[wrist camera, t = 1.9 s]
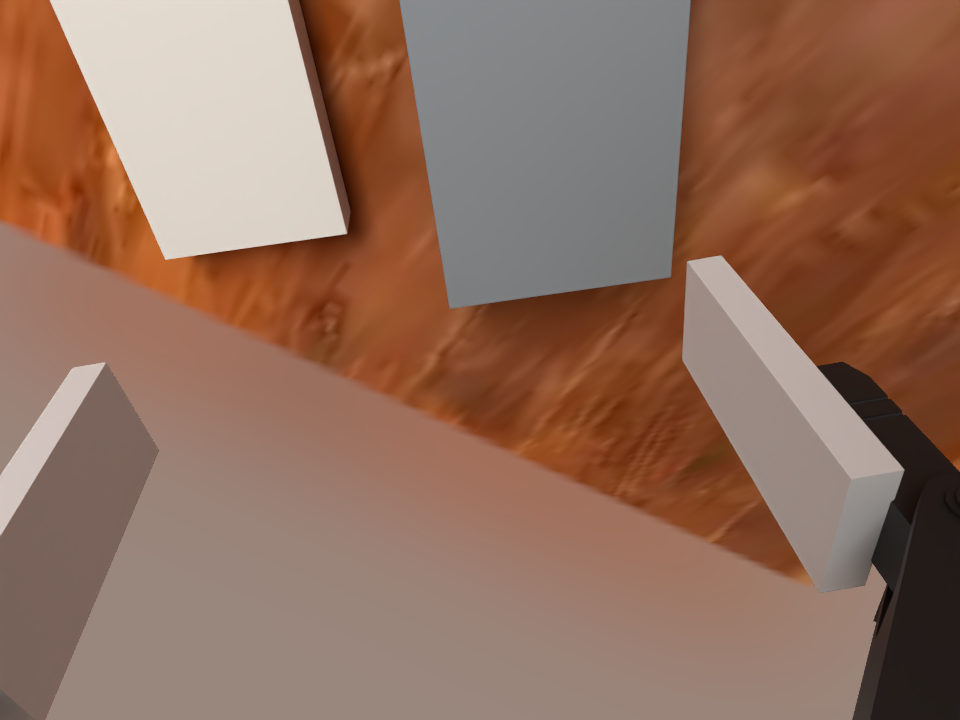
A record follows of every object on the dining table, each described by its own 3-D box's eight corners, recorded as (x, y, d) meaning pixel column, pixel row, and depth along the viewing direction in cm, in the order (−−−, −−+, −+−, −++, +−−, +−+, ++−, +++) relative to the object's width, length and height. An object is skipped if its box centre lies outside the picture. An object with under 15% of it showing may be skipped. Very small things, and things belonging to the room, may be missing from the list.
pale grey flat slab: (41, -96, 29) (8, -94, 27) (267, -128, 29) (255, -127, 27) (180, 235, 39) (165, 259, 36) (350, 211, 39) (347, 233, 36)
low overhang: (363, -250, 27) (354, -279, 22) (655, -290, 27) (714, -329, 22) (444, 252, 41) (449, 308, 36) (636, 225, 41) (670, 277, 36)
